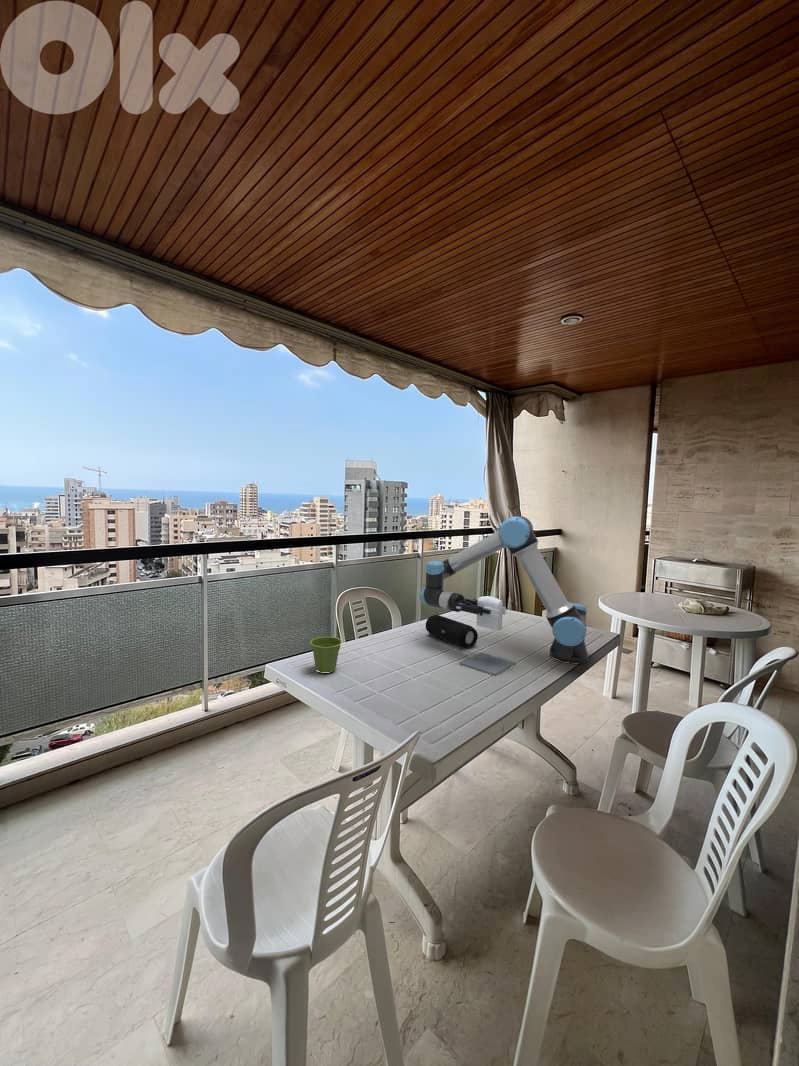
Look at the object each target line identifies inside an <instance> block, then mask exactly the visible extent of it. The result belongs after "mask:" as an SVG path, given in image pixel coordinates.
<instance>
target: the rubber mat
mask: <svg viewBox="0 0 799 1066" xmlns="http://www.w3.org/2000/svg"><path fill="white" fill-rule="evenodd" d="M515 664H516V665H517V662H515V661H511V660H509V659H505V658H502V657H498V656H494V655H491V654H488V653H484V652H479V653H477V654H475V655H473V656H471V657H468V658H466V659H464V660H462V661H460V662H459V665H460V666H462V667H466V668H468V667H469V669H471V668H472V670H474V669H475V671H478V672H481V671H482V672H481V673H484V672H485V673H484V674H487V673H488V674H487V675H490V674H491V675H490V676H493V675H494V676H493V677H497V676H498V674H499V673H500V674H502V673H503V671H504V672H506V671H507V670H509V669H510V667H511V666H513V665H514V666H516V665H515ZM514 666H513V667H514ZM508 668H509V669H508ZM511 668H512V667H511ZM506 669H507V670H506ZM505 670H506V671H505ZM501 672H502V673H501ZM500 674H499V675H500ZM496 675H497V676H496Z"/></svg>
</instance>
